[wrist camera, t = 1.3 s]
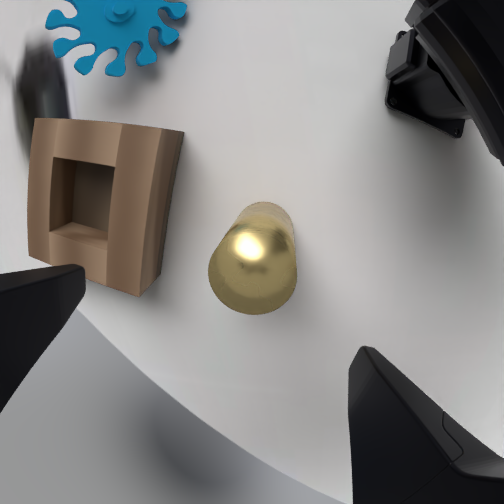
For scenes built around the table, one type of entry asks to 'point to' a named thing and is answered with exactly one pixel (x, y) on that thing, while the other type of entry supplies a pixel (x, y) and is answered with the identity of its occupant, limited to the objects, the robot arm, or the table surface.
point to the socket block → (101, 198)
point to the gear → (115, 30)
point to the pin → (255, 261)
